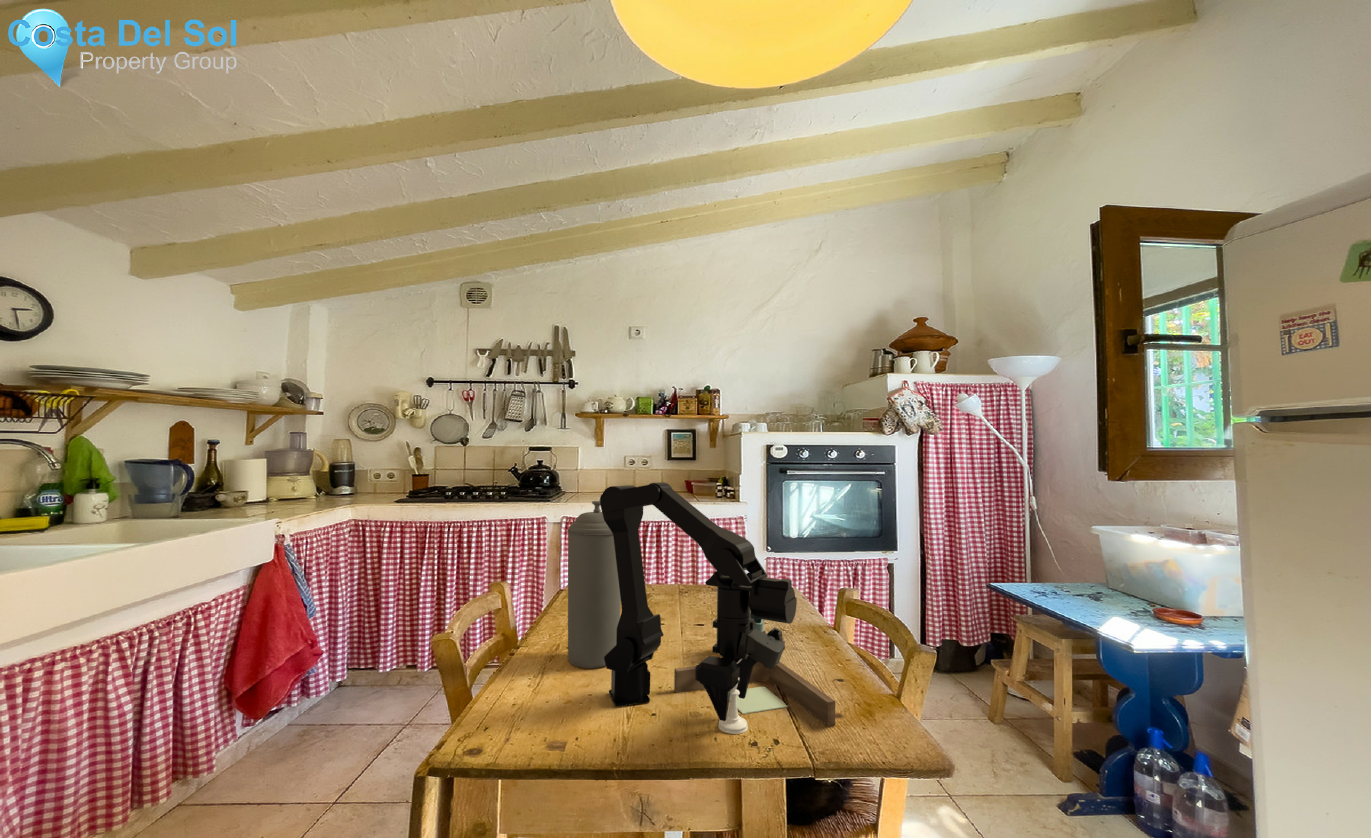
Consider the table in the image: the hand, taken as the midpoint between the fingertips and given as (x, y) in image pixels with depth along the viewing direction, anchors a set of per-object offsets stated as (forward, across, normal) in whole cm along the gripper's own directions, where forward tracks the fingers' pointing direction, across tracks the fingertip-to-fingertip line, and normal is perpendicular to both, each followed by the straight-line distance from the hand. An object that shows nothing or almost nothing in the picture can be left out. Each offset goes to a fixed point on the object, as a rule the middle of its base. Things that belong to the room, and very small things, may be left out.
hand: (732, 708), depth 92 cm
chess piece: (+3, 0, 0) cm, 3 cm away
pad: (+3, +11, 0) cm, 12 cm away
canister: (+3, +14, +38) cm, 41 cm away
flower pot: (+3, +32, +9) cm, 33 cm away
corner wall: (+3, +8, 0) cm, 9 cm away
